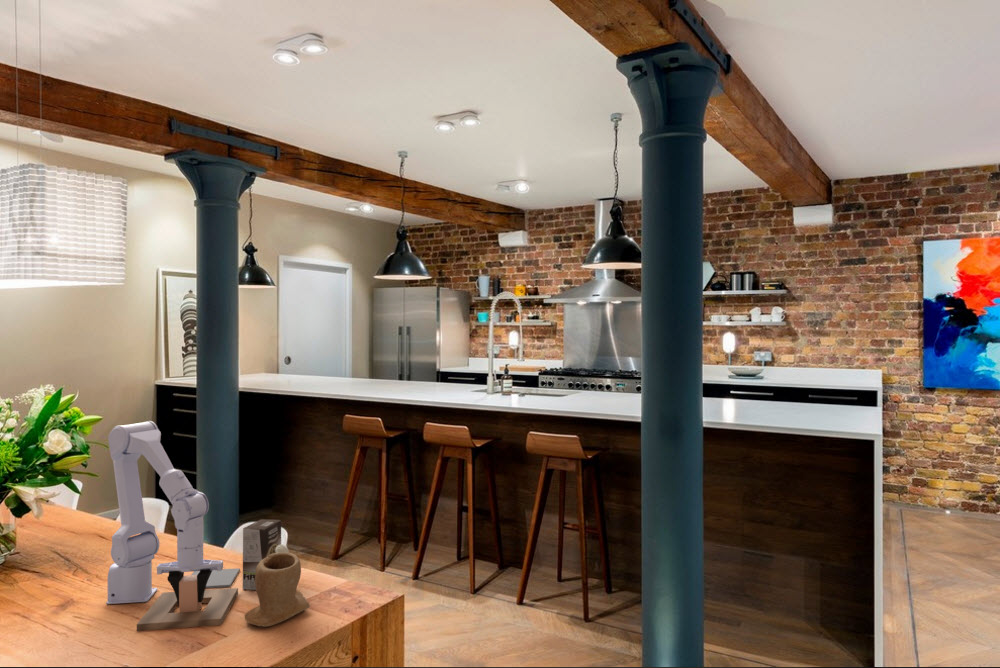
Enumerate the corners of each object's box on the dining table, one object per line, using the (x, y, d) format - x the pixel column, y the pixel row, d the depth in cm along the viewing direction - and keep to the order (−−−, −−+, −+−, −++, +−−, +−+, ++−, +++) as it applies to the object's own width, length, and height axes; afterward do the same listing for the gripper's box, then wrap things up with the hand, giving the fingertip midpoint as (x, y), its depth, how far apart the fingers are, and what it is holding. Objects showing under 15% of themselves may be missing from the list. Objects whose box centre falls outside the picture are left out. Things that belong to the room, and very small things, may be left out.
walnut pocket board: (136, 630, 151) (136, 624, 151) (162, 598, 168) (162, 592, 168) (220, 625, 154) (220, 618, 154) (237, 593, 171) (237, 588, 171)
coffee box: (264, 591, 173) (264, 529, 173) (241, 589, 174) (241, 527, 174) (282, 578, 182) (282, 519, 182) (260, 576, 183) (260, 518, 183)
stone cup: (269, 636, 148) (269, 569, 148) (237, 622, 155) (237, 558, 155) (323, 612, 161) (323, 550, 161) (291, 600, 167) (291, 541, 167)
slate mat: (181, 589, 174) (181, 587, 174) (194, 572, 186) (194, 570, 186) (230, 587, 176) (230, 584, 176) (239, 570, 188) (239, 568, 188)
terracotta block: (179, 615, 159) (179, 581, 159) (184, 608, 163) (184, 575, 163) (197, 614, 159) (197, 580, 159) (201, 607, 163) (201, 574, 163)
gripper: (152, 552, 156) (152, 610, 156) (218, 549, 158) (218, 606, 158) (162, 542, 163) (162, 598, 163) (225, 539, 165) (225, 594, 165)
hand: (190, 601), depth 161 cm, fingers closed on terracotta block, 4 cm apart
